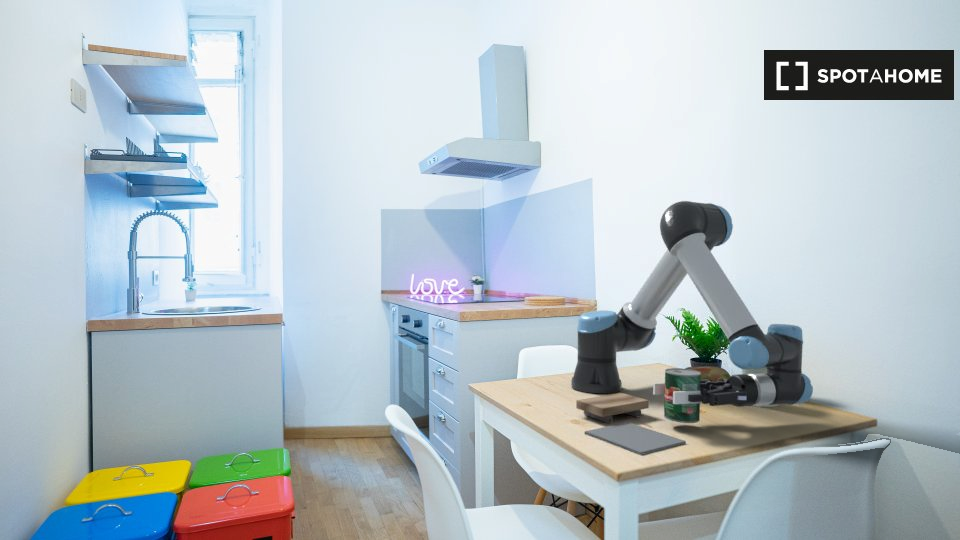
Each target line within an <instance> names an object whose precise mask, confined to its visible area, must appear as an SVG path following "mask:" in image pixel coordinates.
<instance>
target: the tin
mask: <svg viewBox="0 0 960 540" xmlns="http://www.w3.org/2000/svg"><path fill="white" fill-rule="evenodd" d="M684 369H690V370H695V371H698V372H700V373H701V375H700V380H709V379H711V380H712V382H717V381H724V382H725V383H726V381H727V380H728V378H729V377H730V376H731V375H730V373H729V372H728V370H726V369H724V368H723V367H719V366H688V367H686V368H684Z"/></svg>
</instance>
